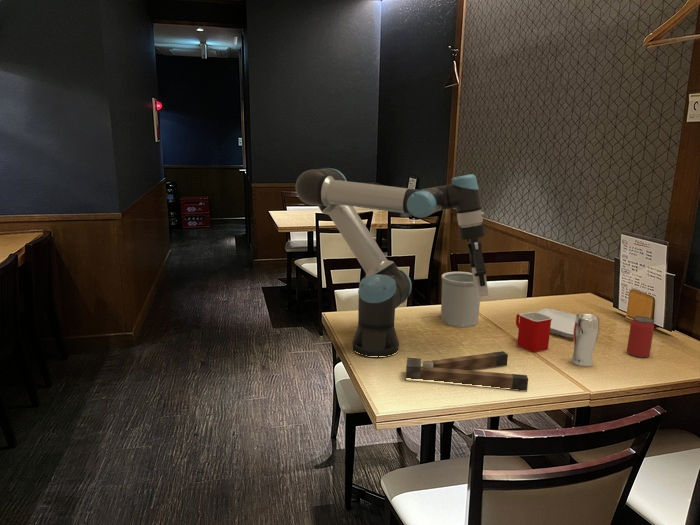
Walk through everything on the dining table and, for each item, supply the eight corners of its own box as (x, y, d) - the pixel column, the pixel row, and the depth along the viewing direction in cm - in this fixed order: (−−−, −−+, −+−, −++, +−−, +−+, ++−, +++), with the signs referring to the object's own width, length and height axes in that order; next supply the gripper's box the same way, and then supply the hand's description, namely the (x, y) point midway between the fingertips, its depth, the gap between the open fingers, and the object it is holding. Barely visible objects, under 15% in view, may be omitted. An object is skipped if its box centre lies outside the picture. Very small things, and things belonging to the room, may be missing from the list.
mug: (551, 348, 169) (554, 318, 167) (533, 353, 166) (536, 322, 163) (523, 336, 180) (526, 307, 177) (506, 340, 176) (508, 310, 174)
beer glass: (587, 358, 162) (593, 313, 159) (598, 367, 156) (605, 320, 152) (565, 358, 162) (571, 313, 159) (575, 367, 155) (581, 320, 152)
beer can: (637, 359, 162) (643, 323, 160) (621, 351, 169) (626, 316, 166) (654, 357, 164) (660, 321, 161) (638, 349, 170) (643, 314, 168)
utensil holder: (471, 330, 184) (475, 283, 180) (433, 322, 192) (435, 277, 188) (484, 319, 197) (488, 275, 193) (447, 312, 204) (450, 269, 200)
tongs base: (405, 380, 145) (406, 365, 144) (406, 371, 151) (407, 356, 150) (527, 391, 140) (528, 375, 139) (523, 381, 146) (525, 366, 145)
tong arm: (434, 375, 148) (435, 364, 147) (430, 371, 150) (431, 360, 150) (506, 365, 156) (508, 354, 155) (502, 361, 158) (503, 351, 157)
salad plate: (517, 326, 191) (517, 318, 190) (545, 314, 204) (546, 306, 204) (572, 343, 175) (574, 334, 174) (599, 329, 189) (601, 320, 188)
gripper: (489, 226, 147) (499, 298, 150) (478, 219, 171) (487, 281, 174) (462, 231, 148) (473, 302, 151) (455, 223, 172) (465, 284, 175)
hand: (481, 291), depth 163 cm, fingers open, 13 cm apart
